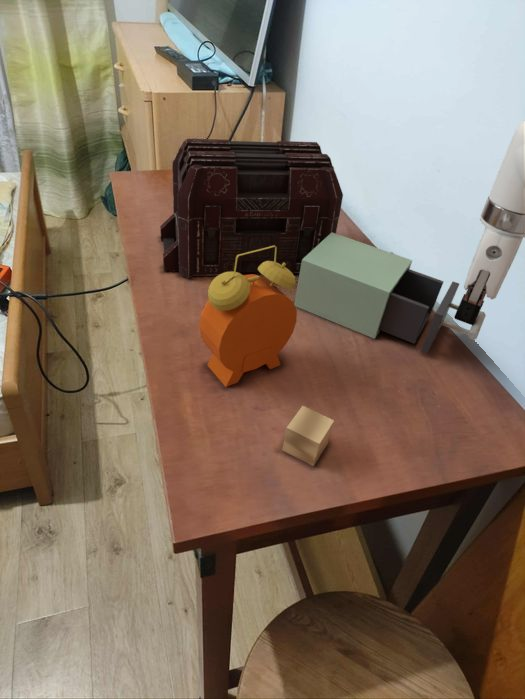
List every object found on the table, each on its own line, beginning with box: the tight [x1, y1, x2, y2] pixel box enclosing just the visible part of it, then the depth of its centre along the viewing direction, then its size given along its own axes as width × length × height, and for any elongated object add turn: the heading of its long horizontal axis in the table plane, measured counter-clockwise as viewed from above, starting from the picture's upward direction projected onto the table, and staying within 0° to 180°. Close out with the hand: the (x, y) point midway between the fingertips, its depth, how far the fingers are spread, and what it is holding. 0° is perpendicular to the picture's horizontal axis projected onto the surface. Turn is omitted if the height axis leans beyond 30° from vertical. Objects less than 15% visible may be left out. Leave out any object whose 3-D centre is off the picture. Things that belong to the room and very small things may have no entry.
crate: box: [159, 138, 344, 279], centre depth 97 cm, size 35×19×21 cm, turn 101°
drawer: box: [379, 268, 487, 354], centre depth 87 cm, size 20×11×8 cm, turn 60°
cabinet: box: [294, 232, 413, 339], centre depth 90 cm, size 16×13×10 cm
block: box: [281, 405, 335, 467], centre depth 66 cm, size 5×5×5 cm
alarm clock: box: [198, 246, 298, 388], centre depth 72 cm, size 13×6×20 cm, turn 125°
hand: (464, 319), depth 83 cm, fingers closed
